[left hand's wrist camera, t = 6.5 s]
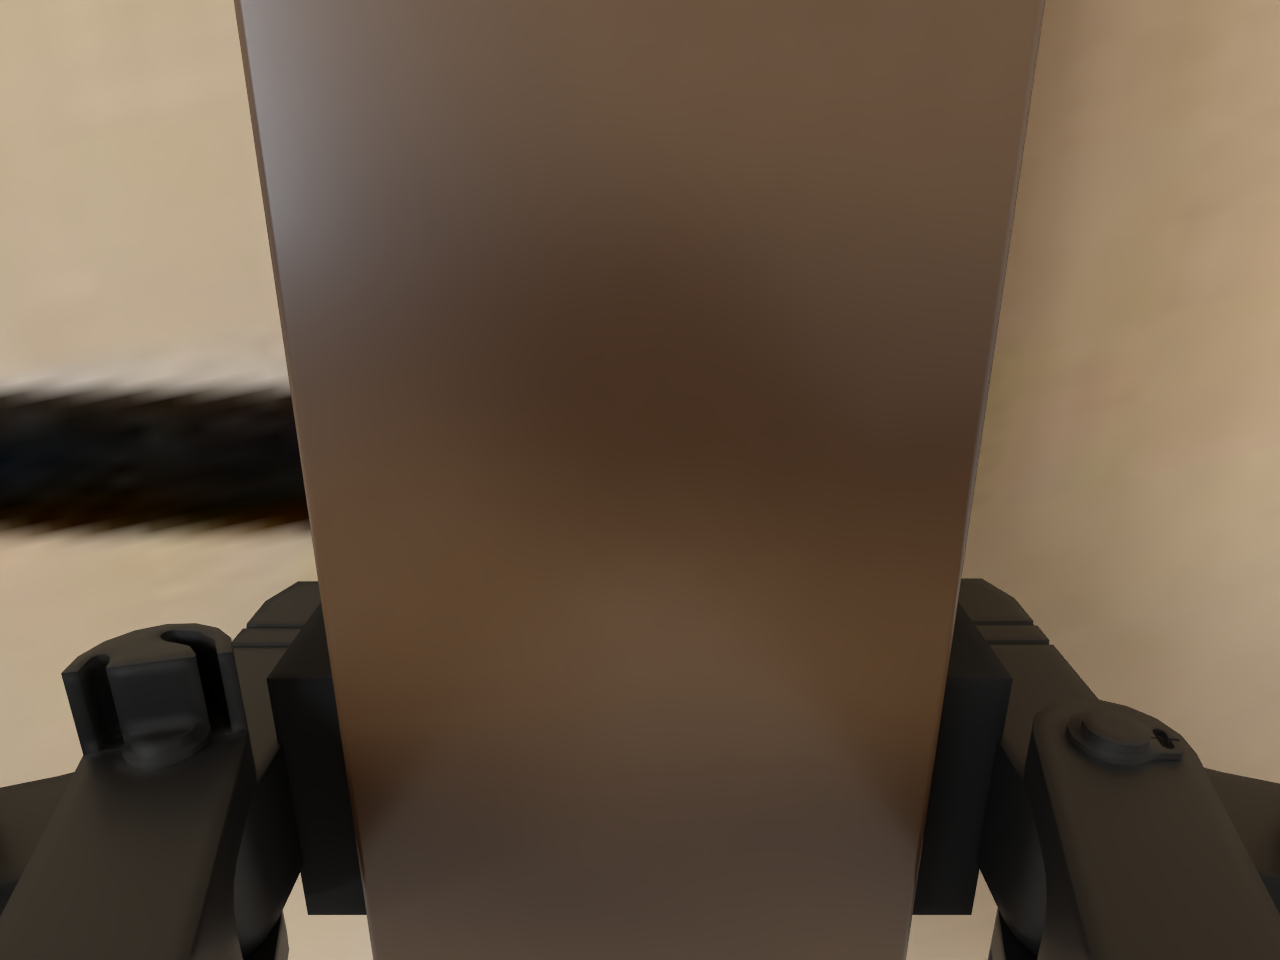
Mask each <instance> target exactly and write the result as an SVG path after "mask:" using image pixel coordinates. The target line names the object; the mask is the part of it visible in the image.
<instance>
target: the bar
mask: <svg viewBox="0 0 1280 960" xmlns="http://www.w3.org/2000/svg"><path fill="white" fill-rule="evenodd" d="M234 4H235V11H236V18H237V25H238V32H239V39H240V46H241V52H242V59H243V66H244V73H245V80H246V87H247V94H248V101H249V107H250V114H251V121H252V128H253V135H254V142H255V149H256V156H257V162H258V169H259V176H260V183H261V190H262V197H263V204H264V211H265V218H266V224H267V231H268V238H269V245H270V252H271V259H272V266H273V273H274V279H275V286H276V293H277V300H278V307H279V314H280V321H281V328H282V334H283V341H284V348H285V355H286V362H287V369H288V376H289V383H290V389H291V396H292V403H293V410H294V417H295V424H296V431H297V438H298V445H299V451H300V458H301V465H302V472H303V479H304V486H305V493H306V500H307V506H308V513H309V520H310V527H311V534H312V541H313V548H314V555H315V561H316V568H317V575H318V582H319V589H320V596H321V603H322V610H323V616H324V623H325V630H326V637H327V644H328V651H329V658H330V665H331V671H332V678H333V685H334V692H335V699H336V706H337V713H338V720H339V727H340V733H341V740H342V747H343V754H344V761H345V768H346V775H347V782H348V788H349V795H350V802H351V809H352V816H353V823H354V830H355V837H356V843H357V850H358V857H359V864H360V871H361V878H362V885H363V892H364V898H365V905H366V912H367V919H368V926H369V933H370V940H371V947H372V954H373V960H906V954H907V948H908V941H909V934H910V927H911V920H912V913H913V906H914V899H915V892H916V886H917V879H918V872H919V865H920V858H921V851H922V844H923V837H924V830H925V824H926V817H927V810H928V803H929V796H930V789H931V782H932V775H933V769H934V762H935V755H936V748H937V741H938V734H939V727H940V720H941V713H942V707H943V700H944V693H945V686H946V679H947V672H948V665H949V658H950V651H951V645H952V638H953V631H954V624H955V617H956V610H957V603H958V596H959V590H960V583H961V576H962V569H963V562H964V555H965V548H966V541H967V534H968V528H969V521H970V514H971V507H972V500H973V493H974V486H975V479H976V472H977V466H978V459H979V452H980V445H981V438H982V431H983V424H984V417H985V411H986V404H987V397H988V390H989V383H990V376H991V369H992V362H993V355H994V349H995V342H996V335H997V328H998V321H999V314H1000V307H1001V300H1002V294H1003V287H1004V280H1005V273H1006V266H1007V259H1008V252H1009V245H1010V238H1011V232H1012V225H1013V218H1014V211H1015V204H1016V197H1017V190H1018V183H1019V176H1020V170H1021V163H1022V156H1023V149H1024V142H1025V135H1026V128H1027V121H1028V115H1029V108H1030V101H1031V94H1032V87H1033V80H1034V73H1035V66H1036V59H1037V53H1038V46H1039V39H1040V32H1041V25H1042V18H1043V11H1044V4H1045V0H234Z"/></svg>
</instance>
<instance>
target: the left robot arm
mask: <svg viewBox="0 0 1280 960" xmlns="http://www.w3.org/2000/svg"><path fill="white" fill-rule="evenodd" d="M61 674H62V678H63V682H64V685H65V689H66V693H67V696H68V700H69V704H70V707H71V711H72V715H73V718H74V722H75V726H76V729H77V733H78V737H79V740H80V744H81V748H82V751H83V757H82V759H81V761H80V763H79V765H78V767H77V769H76V771H75V772H73V773H69V774H65V775H61V776H57V777H52V778H47V779H42V780H37V781H32V782H27V783H22V784H17V785H12V786H7V787H2V788H0V960H288V953H289V946H288V938H287V930H286V925H285V920H284V915H283V908H284V906H285V903H286V901H287V899H288V897H289V895H290V893H291V891H292V889H293V886H294V884H295V882H296V880H297V878H298V876H299V874H300V872H301V877H302V883H303V889H304V894H305V900H306V906H307V911H308V915H367V912H366V905H365V898H364V892H363V885H362V878H361V871H360V864H359V857H358V850H357V843H356V837H355V830H354V823H353V816H352V809H351V802H350V795H349V788H348V782H347V775H346V768H345V761H344V754H343V747H342V740H341V733H340V727H339V720H338V713H337V706H336V699H335V692H334V685H333V678H332V671H331V665H330V658H329V651H328V644H327V637H326V630H325V623H324V616H323V610H322V603H321V596H320V589H319V582H297V583H295V584H293V585H292V586H290V587H288V588H287V589H285V590H283V591H282V592H280V593H278V594H277V595H275V596H273V597H272V598H270V599H268V600H267V601H265V603H264V604H263V605H262V606H261V607H260V609H259V610H258V611H257V612H256V614H255V615H254V616H253V617H252V618H251V620H250V621H249V622H248V623H247V628H246V629H242V630H241V632H240V633H239V634H238V635H237V636H236V638H235V639H234V640H233V641H231V638H230V637H229V636H228V635H227V634H225V633H224V632H223V631H221V630H220V629H219V628H215V627H211V626H206V625H201V624H196V623H192V624H166V625H161V626H155V627H150V628H145V629H140V630H135V631H132V632H130V633H127V634H124V635H121V636H119V637H116V638H113V639H110V640H107V641H105V642H103V643H101V644H99V645H97V646H96V647H94V648H92V649H90V650H89V651H87V652H85V653H83V654H82V655H80V656H78V657H77V658H76V659H75V660H74V661H73V662H72V663H71V664H70V665H69V666H68V667H67V668H66V669H65V670H64V671H63V672H62V673H61ZM979 868H980V870H981V873H982V875H983V877H984V879H985V881H986V883H987V885H988V887H989V889H990V892H991V894H992V896H993V898H994V900H995V902H996V904H997V906H998V909H997V915H996V920H995V925H994V930H993V936H992V941H991V946H990V951H989V957H988V960H1280V784H1279V783H1273V782H1268V781H1263V780H1258V779H1253V778H1248V777H1243V776H1238V775H1233V774H1228V773H1223V772H1219V771H1215V770H1211V769H1207V768H1204V767H1203V765H1202V763H1201V761H1200V759H1199V758H1198V756H1197V754H1196V753H1195V751H1194V750H1193V749H1192V748H1191V747H1190V745H1189V744H1188V743H1187V742H1186V741H1185V739H1184V738H1183V737H1182V736H1181V735H1180V734H1178V733H1177V732H1175V731H1174V730H1173V729H1171V728H1170V727H1168V726H1167V725H1165V724H1164V723H1162V722H1161V721H1159V720H1158V719H1156V718H1154V717H1151V716H1149V715H1147V714H1144V713H1142V712H1139V711H1137V710H1135V709H1132V708H1130V707H1128V706H1124V705H1119V704H1115V703H1111V702H1106V701H1102V700H1099V699H1098V698H1097V697H1096V696H1095V694H1094V693H1093V692H1092V691H1091V690H1090V688H1089V687H1088V686H1087V685H1086V684H1085V682H1084V681H1083V680H1082V679H1081V678H1080V676H1079V675H1078V674H1077V673H1076V672H1075V670H1074V669H1073V668H1072V667H1071V666H1070V664H1069V663H1068V662H1067V661H1066V660H1065V658H1064V657H1063V656H1062V655H1061V654H1060V652H1059V651H1058V650H1057V649H1056V648H1055V647H1054V645H1049V639H1048V638H1047V637H1046V636H1045V635H1044V633H1043V632H1042V631H1041V630H1040V629H1039V627H1038V626H1037V625H1033V620H1032V619H1031V618H1030V617H1029V615H1028V614H1027V613H1026V612H1025V611H1024V609H1023V608H1022V607H1021V606H1020V605H1019V603H1018V602H1017V601H1016V600H1015V599H1014V598H1013V597H1011V596H1010V595H1008V594H1006V593H1005V592H1003V591H1001V590H1000V589H998V588H996V587H995V586H993V585H991V584H990V583H988V582H986V581H985V580H983V579H961V583H960V590H959V596H958V603H957V610H956V617H955V624H954V631H953V638H952V645H951V651H950V658H949V665H948V672H947V679H946V686H945V693H944V700H943V707H942V713H941V720H940V727H939V734H938V741H937V748H936V755H935V762H934V769H933V775H932V782H931V789H930V796H929V803H928V810H927V817H926V824H925V830H924V837H923V844H922V851H921V858H920V865H919V872H918V879H917V886H916V892H915V899H914V906H913V913H912V915H971V914H972V908H973V902H974V897H975V891H976V885H977V880H978V874H979Z"/></svg>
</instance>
